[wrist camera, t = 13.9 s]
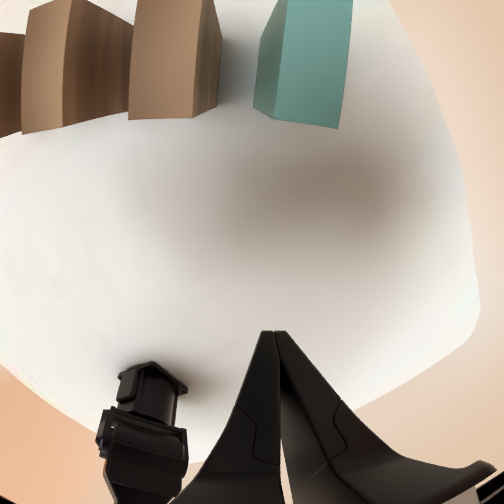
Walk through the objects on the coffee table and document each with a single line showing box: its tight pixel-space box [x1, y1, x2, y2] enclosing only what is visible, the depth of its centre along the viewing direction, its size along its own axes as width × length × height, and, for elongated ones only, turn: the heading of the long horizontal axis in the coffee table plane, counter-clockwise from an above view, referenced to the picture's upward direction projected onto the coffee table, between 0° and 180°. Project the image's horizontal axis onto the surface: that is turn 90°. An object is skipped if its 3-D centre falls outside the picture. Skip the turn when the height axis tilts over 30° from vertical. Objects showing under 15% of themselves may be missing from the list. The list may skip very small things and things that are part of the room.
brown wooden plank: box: [0, 32, 25, 138], centre depth 10 cm, size 2×5×11 cm, turn 175°
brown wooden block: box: [21, 0, 134, 135], centre depth 11 cm, size 2×5×11 cm, turn 175°
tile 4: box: [128, 0, 222, 120], centre depth 11 cm, size 2×5×11 cm, turn 175°
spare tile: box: [253, 0, 353, 129], centre depth 11 cm, size 2×5×11 cm, turn 174°
